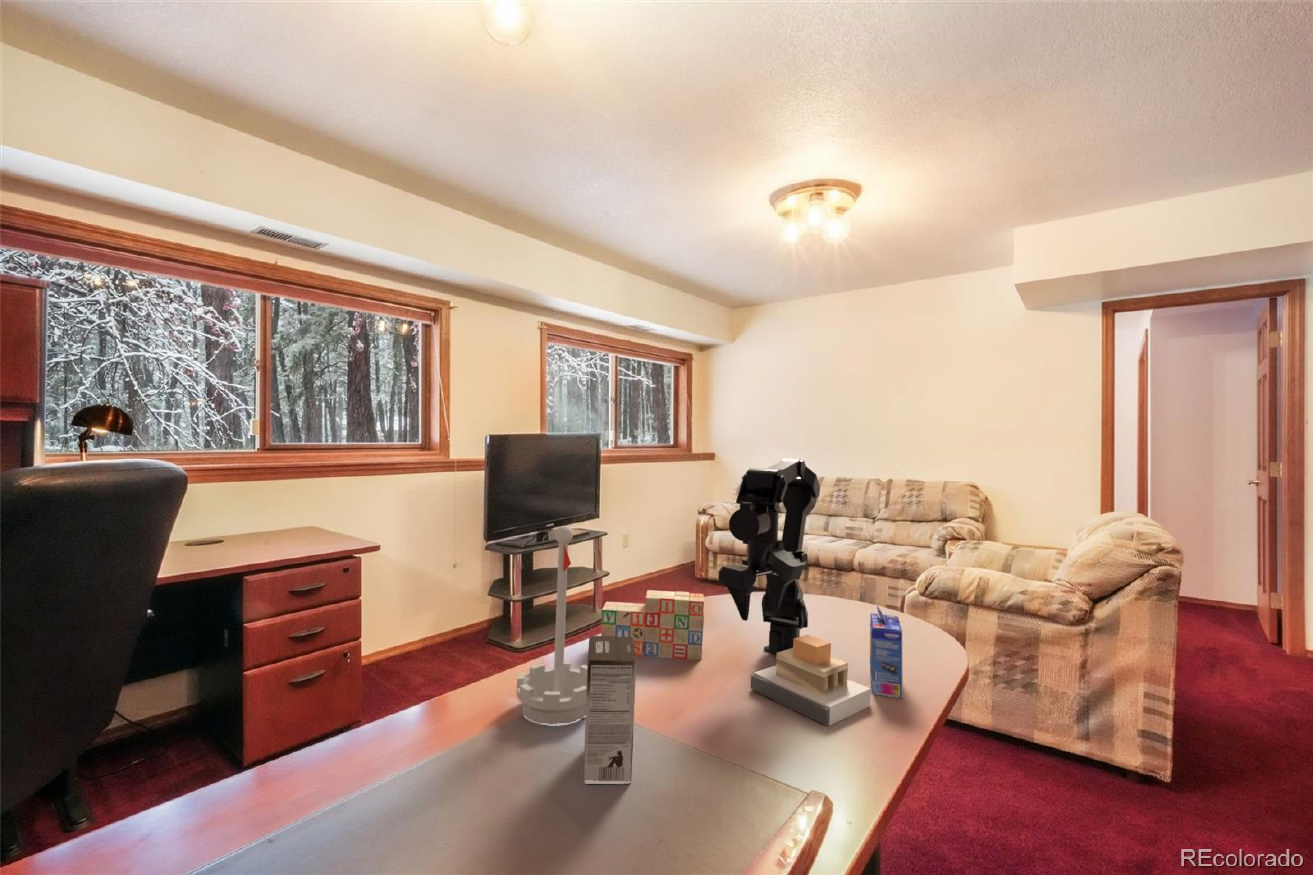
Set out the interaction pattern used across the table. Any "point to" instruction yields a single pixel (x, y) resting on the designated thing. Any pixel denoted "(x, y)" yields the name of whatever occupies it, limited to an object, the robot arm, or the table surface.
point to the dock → (812, 697)
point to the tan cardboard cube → (812, 649)
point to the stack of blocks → (659, 624)
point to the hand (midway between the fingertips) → (760, 615)
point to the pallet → (812, 672)
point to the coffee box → (609, 708)
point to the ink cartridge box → (886, 655)
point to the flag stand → (555, 664)
